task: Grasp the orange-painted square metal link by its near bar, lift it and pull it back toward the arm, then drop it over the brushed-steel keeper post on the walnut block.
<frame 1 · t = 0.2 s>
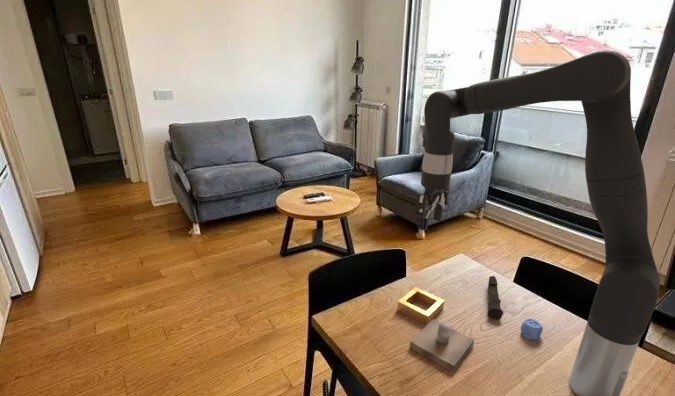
hand: (430, 224, 103), 27 cm above the table, fingers open, 8 cm apart
decorative dice: (529, 335, 102), on the table
keeper: (441, 346, 97), on the table
link: (420, 309, 111), on the table
hand tool: (490, 301, 116), on the table
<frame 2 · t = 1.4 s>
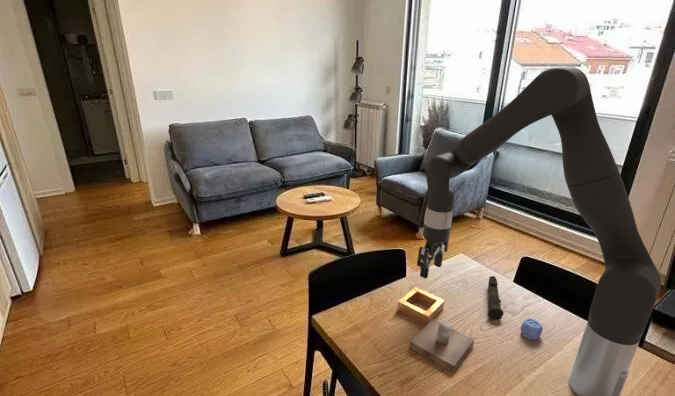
hand: (430, 271, 110), 11 cm above the table, fingers open, 8 cm apart
nothing on the table moved.
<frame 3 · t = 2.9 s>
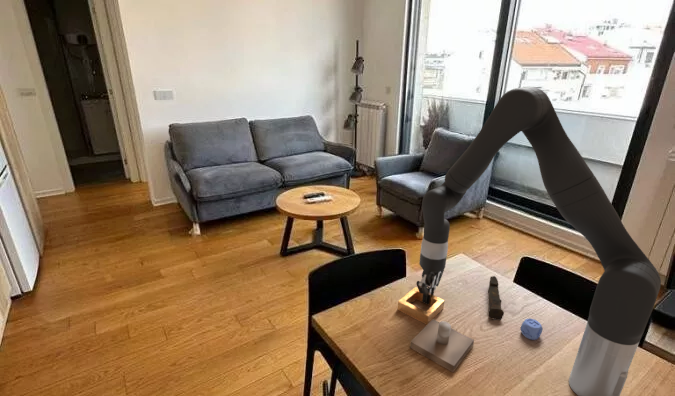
hand: (427, 301, 114), 1 cm above the table, fingers closed on link
link: (420, 309, 111), on the table, touching gripper
everything else where it was.
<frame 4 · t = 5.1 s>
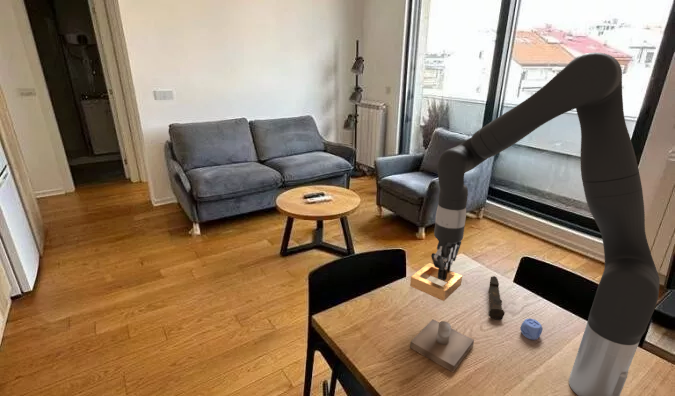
hand: (443, 277, 103), 13 cm above the table, fingers closed on link
link: (435, 285, 101), point 13 cm above the table, touching gripper
everything else where it was.
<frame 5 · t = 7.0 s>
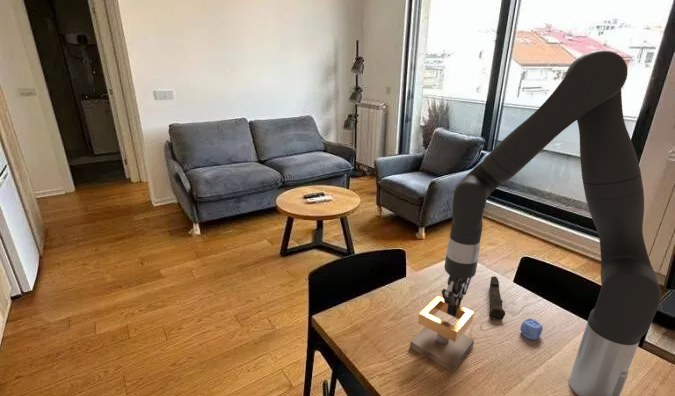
hand: (453, 312, 97), 9 cm above the table, fingers closed on link
link: (445, 322, 94), point 8 cm above the table, touching gripper
everything else where it was.
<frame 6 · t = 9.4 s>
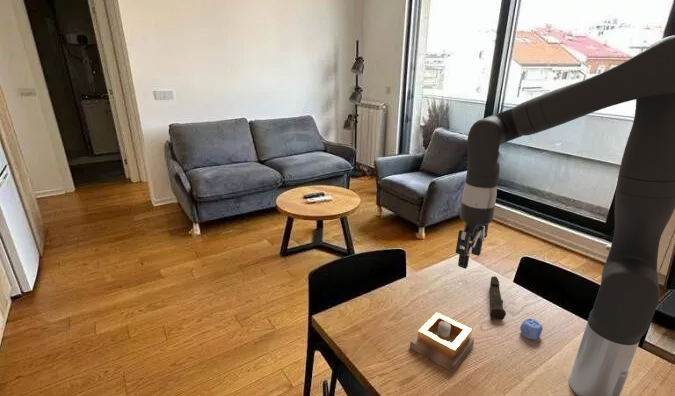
hand: (469, 260, 94), 23 cm above the table, fingers open, 8 cm apart
link: (443, 339, 97), point 2 cm above the table, touching keeper
everything else where it was.
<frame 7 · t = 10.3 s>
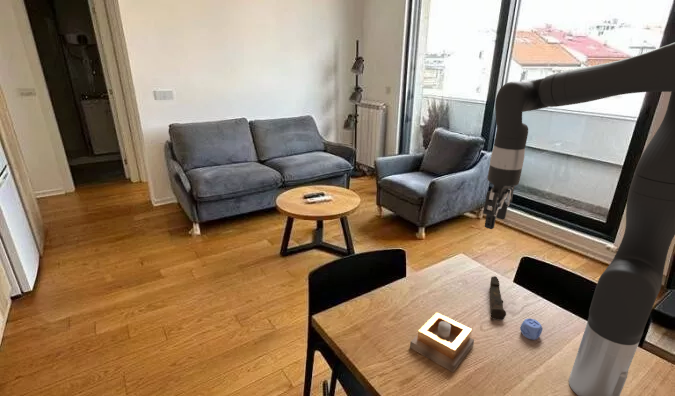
hand: (495, 223, 98), 30 cm above the table, fingers open, 8 cm apart
nothing on the table moved.
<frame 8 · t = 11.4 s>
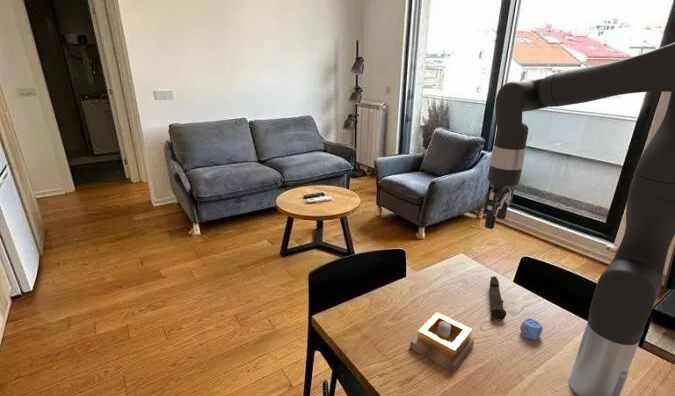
hand: (495, 223, 98), 30 cm above the table, fingers open, 8 cm apart
nothing on the table moved.
at the end: link 0.7 cm off-centre on the keeper, point 2.0 cm above the keeper's base; the gripper is holding nothing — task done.
